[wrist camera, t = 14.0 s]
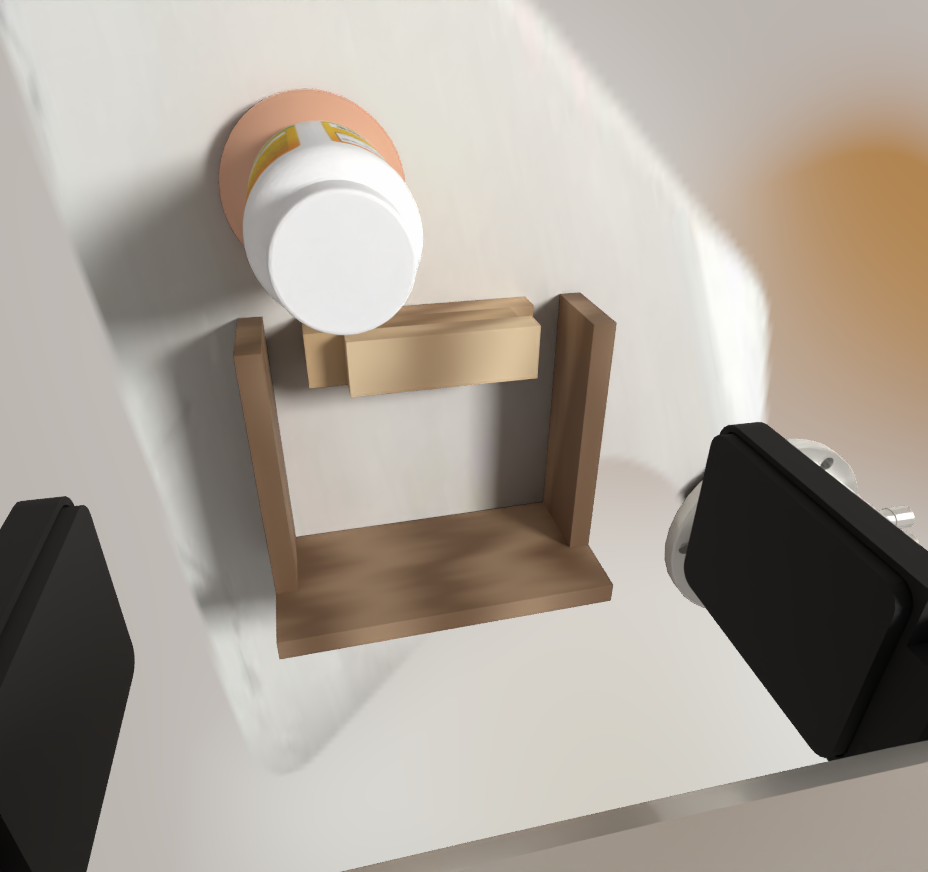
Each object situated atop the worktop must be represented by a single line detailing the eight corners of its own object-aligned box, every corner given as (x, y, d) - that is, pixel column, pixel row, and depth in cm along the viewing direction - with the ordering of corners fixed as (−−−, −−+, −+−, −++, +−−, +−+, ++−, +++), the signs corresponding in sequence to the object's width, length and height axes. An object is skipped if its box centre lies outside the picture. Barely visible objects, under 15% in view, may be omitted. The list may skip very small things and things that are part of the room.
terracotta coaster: (398, 87, 26) (401, 89, 25) (405, 270, 29) (408, 275, 29) (204, 89, 24) (202, 90, 24) (236, 281, 28) (235, 287, 27)
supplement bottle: (267, 274, 27) (265, 376, 19) (231, 128, 24) (211, 174, 16) (399, 254, 28) (452, 343, 20) (380, 110, 25) (432, 145, 17)
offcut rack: (580, 292, 32) (650, 350, 26) (558, 514, 38) (610, 600, 32) (237, 318, 29) (229, 391, 23) (278, 555, 35) (279, 659, 29)
